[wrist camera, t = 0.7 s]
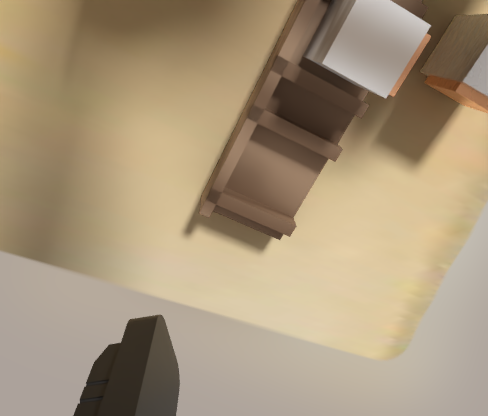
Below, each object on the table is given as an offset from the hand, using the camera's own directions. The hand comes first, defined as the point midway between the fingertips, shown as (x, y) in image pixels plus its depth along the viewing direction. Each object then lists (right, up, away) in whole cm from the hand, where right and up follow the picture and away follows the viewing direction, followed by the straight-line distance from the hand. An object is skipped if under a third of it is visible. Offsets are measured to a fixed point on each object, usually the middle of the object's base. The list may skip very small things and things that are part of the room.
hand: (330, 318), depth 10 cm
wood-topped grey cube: (+14, +14, +20) cm, 28 cm away
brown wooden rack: (+2, +11, +21) cm, 24 cm away
